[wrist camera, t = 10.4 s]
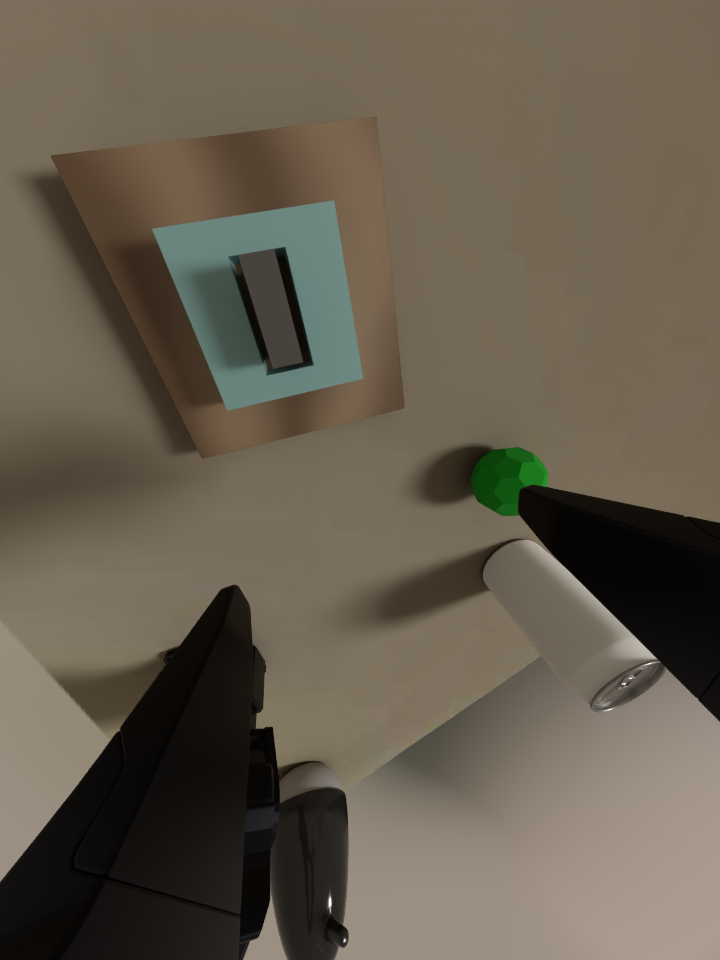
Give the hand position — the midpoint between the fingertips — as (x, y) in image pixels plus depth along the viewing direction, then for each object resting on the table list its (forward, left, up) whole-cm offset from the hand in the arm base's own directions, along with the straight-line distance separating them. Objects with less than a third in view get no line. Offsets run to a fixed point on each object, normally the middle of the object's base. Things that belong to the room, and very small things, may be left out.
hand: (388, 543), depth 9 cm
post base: (-1, +7, -12) cm, 13 cm away
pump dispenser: (-14, -47, -12) cm, 51 cm away
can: (+15, -18, -12) cm, 26 cm away
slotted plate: (-1, +7, -10) cm, 12 cm away
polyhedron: (+12, -6, -12) cm, 18 cm away
